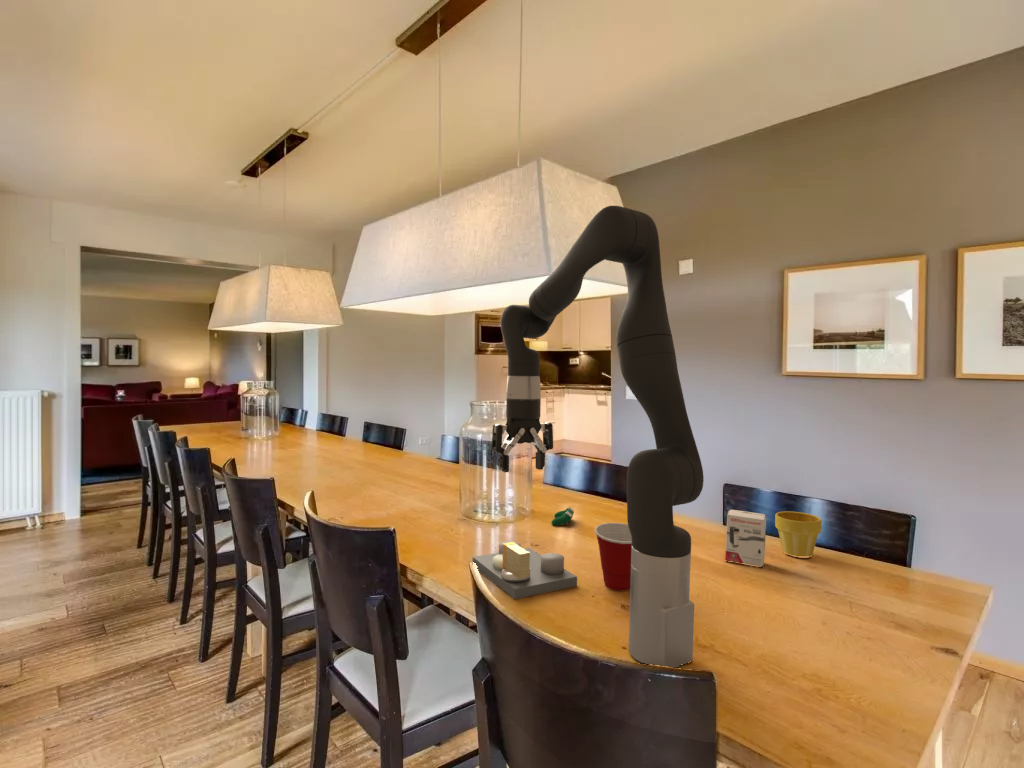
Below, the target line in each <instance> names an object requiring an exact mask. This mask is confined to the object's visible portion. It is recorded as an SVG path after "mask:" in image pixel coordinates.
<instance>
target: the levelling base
mask: <svg viewBox="0 0 1024 768" xmlns="http://www.w3.org/2000/svg"><path fill="white" fill-rule="evenodd" d="M511 542H514V543H516V544H517V545H518V546H520V547H521V548H522V544H521V543H519V542H518V541H513V540H512V541H511V540H507V541H501V542H499V544H498V552H494V553H488V554H482V555H476V556H472V563H473V562H474V563H476V565H477V566H478V569H479V570H478V571H479V572H480V573H481V574H482V575H484V576H485V577H486V578H487V579H489V581H491V582H492V583H494V584H495V585H496V586H497V587H498V588H500V589H501V590H502V591H504V592H505V593H506V594H507V595H509V596H510V597H511V598H512V599H513V600H517V599H521V598H526V597H527V598H528V597H531V596H536V595H540V594H545V593H550V592H554V591H558V590H565V589H568V588H569V589H570V588H574V587H577V586H578V576H577V575H576V574H573V573H572V572H570V571H569V570H567V569H566V568H565V556H564V555H563V554H560V553H554V552H547V553H543V554H540V553H538V552H537V551H535V550H534V549H532V548H530V547H525V548H524V547H523V549H525V550H526V551H528V552H530V570H529V571H530V579H529V580H527V581H525V582H518V583H515V582H508V581H505V580H503V579H502V577H501V571H502V570H503V569H504V568H503V544H504V543H511Z"/></svg>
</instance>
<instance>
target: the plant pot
mask: <svg viewBox="0 0 1024 768" xmlns="http://www.w3.org/2000/svg"><path fill="white" fill-rule="evenodd" d="M774 517H775V519H774V525H775V528H776V529H777V532H778V536H779V541H780V545H781V546H780V547H781V551H782V550H783V551H784V552H786V553H788V554H791V555H796V556H811V555H812V556H813V555H814V551H815V547H816V544H817V540H818V535H820V534H821V532H822V519H821V517H819V516H817V515H814V514H810V513H806V512H800V511H792V510H791V511H787V510H785V511H778V512H776V513H775V515H774Z"/></svg>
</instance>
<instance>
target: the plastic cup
mask: <svg viewBox="0 0 1024 768" xmlns="http://www.w3.org/2000/svg"><path fill="white" fill-rule="evenodd" d="M594 533H595V535H596V539H597V544H598V551H599V558H600V564H601V570H602V577H603V582H604V586H605V587H606V588H608V589H610V590H613V591H616V592H617V591H618V592H626V591H630V581H631V550H632V537H631V533H630V530H629V527H628V523H622V522H605V523H600V524H598V525H597V526H595V528H594Z"/></svg>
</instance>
